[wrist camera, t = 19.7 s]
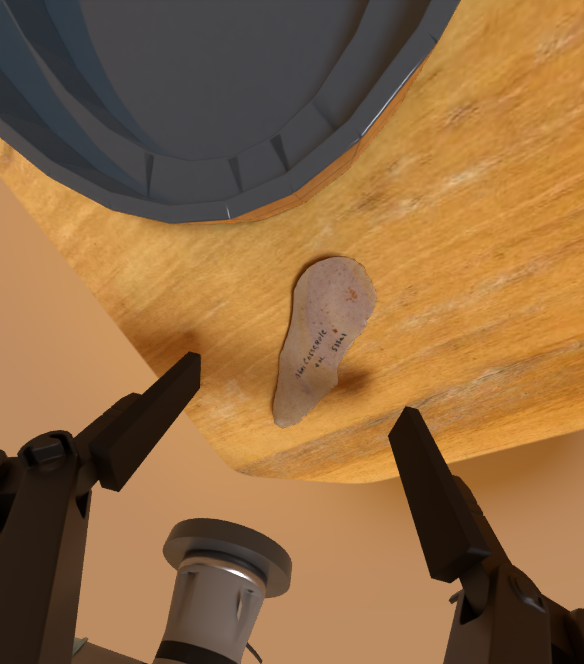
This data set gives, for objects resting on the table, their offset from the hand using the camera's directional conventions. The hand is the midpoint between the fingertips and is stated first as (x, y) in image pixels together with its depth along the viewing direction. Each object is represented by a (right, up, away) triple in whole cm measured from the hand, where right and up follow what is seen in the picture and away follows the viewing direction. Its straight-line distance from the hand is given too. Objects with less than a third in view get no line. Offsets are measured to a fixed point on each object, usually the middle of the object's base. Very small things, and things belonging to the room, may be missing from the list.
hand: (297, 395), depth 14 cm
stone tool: (+1, +2, +3) cm, 4 cm away
